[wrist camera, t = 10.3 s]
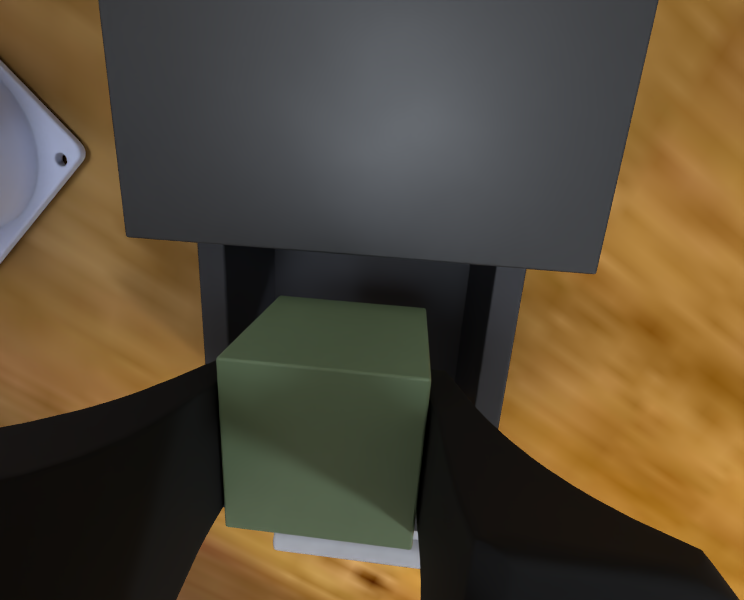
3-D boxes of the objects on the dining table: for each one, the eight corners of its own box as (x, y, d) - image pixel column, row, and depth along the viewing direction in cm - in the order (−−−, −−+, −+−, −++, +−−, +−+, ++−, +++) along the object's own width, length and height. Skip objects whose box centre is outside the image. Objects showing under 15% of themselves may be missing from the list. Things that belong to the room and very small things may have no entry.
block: (412, 435, 13) (412, 551, 9) (279, 420, 13) (224, 527, 9) (426, 307, 11) (431, 379, 8) (279, 294, 12) (215, 357, 8)
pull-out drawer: (465, 507, 21) (484, 633, 15) (254, 482, 21) (198, 593, 16) (524, 138, 15) (586, 125, 10) (243, 122, 16) (155, 101, 11)
